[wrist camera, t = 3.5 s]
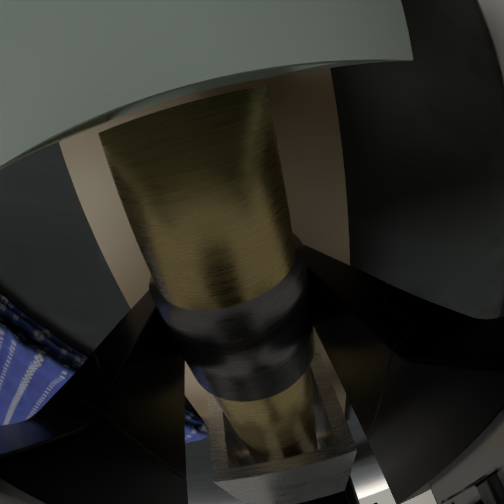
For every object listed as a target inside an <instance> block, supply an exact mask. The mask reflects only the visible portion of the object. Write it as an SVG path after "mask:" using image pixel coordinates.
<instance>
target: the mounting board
mask: <svg viewBox="0 0 504 504" xmlns="http://www.w3.org/2000/svg"><path fill="white" fill-rule="evenodd" d="M265 85H266V89H267V94H268V99H269V104H270V109H271V113H272V119H273V124H274V129H275V134H276V139H277V145H278V150H279V155H280V161H281V166H282V172H283V178H284V183H285V189H286V195H287V201H288V207H289V213H290V220H291V226H292V232H293V233H294V234H295V235H296V236H297V237H298V238H299V239H300V241H301V242H302V244H303V245H307V246H309V247H311V248H313V249H315V250H318V251H320V252H322V253H324V254H326V255H328V256H331V257H333V258H335V259H337V260H339V261H341V262H344V263H346V264H348V265H350V248H349V225H348V208H347V195H346V182H345V171H344V161H343V152H342V143H341V135H340V127H339V120H338V113H337V106H336V100H335V93H334V87H333V82H332V76H331V70H330V68H327V69H320V70H314V71H308V72H303V73H298V74H290V75H283V76H276V77H270V78H264V79H258V80H252V81H247V82H242V83H237V84H232V85H227V86H223V87H218V88H214V89H210V90H206V91H202V92H198V93H194V94H190V95H187V96H183V97H180V98H176V99H173V100H169V101H166V102H163V103H160V104H156V105H153V106H150V107H147V108H144V109H141V110H138V111H135V112H133V113H130V114H127V115H124V116H122V117H119V118H116V119H114V120H111V121H109V122H106V123H104V124H101V125H99V126H96V127H94V128H91V129H89V130H87V131H84V132H81V133H79V134H76V135H74V136H71V137H69V138H66V139H64V140H62V141H59V144H60V147H61V150H62V153H63V156H64V159H65V162H66V165H67V168H68V170H69V173H70V176H71V179H72V182H73V184H74V187H75V190H76V192H77V195H78V197H79V200H80V202H81V205H82V207H83V210H84V212H85V215H86V217H87V219H88V222H89V224H90V226H91V229H92V231H93V233H94V236H95V238H96V240H97V242H98V244H99V247H100V249H101V251H102V253H103V255H104V257H105V259H106V261H107V264H108V266H109V268H110V270H111V272H112V274H113V276H114V278H115V280H116V282H117V284H118V285H119V287H120V289H121V291H122V293H123V295H124V297H125V299H126V301H127V302H128V304H129V306H130V308H131V309H132V308H133V306H134V305H135V304H136V303H137V302H138V301H139V300H140V299H141V298H142V297H143V296H144V294H145V293H146V292H147V291H148V290H149V282H150V277H151V273H150V271H149V269H148V267H147V264H146V262H145V260H144V257H143V255H142V253H141V250H140V248H139V246H138V243H137V241H136V238H135V236H134V233H133V231H132V228H131V226H130V223H129V221H128V218H127V216H126V213H125V211H124V208H123V205H122V203H121V200H120V197H119V195H118V192H117V189H116V186H115V183H114V181H113V178H112V175H111V172H110V169H109V166H108V163H107V160H106V157H105V154H104V151H103V148H102V144H101V141H100V138H99V135H98V133H100V132H102V131H104V130H107V129H109V128H112V127H114V126H117V125H120V124H122V123H125V122H128V121H130V120H133V119H136V118H139V117H142V116H145V115H148V114H151V113H154V112H157V111H160V110H163V109H167V108H170V107H173V106H177V105H180V104H184V103H187V102H191V101H195V100H198V99H202V98H206V97H210V96H215V95H219V94H223V93H228V92H232V91H237V90H242V89H247V88H253V87H258V86H265ZM313 330H314V341H315V349H314V355H315V354H319V353H320V354H321V356H322V359H323V362H324V364H325V367H326V369H327V372H328V374H329V377H330V379H331V382H332V385H333V387H334V390H335V392H336V395H337V397H338V400H339V403H340V405H341V408H342V411H343V413H344V414H345V404H346V392H345V390H344V388H343V386H342V384H341V382H340V380H339V378H338V376H337V374H336V372H335V370H334V367H333V365H332V363H331V361H330V359H329V357H328V355H327V353H326V351H325V349H324V347H323V345H322V343H321V341H320V339H319V337H318V335H317V333H316V331H315V328H314V326H313ZM185 396H186V397H187V399H188V400H189V402H190V403H191V404H192V406H193V407H194V409H195V410H196V411H197V413H198V414H199V415H200V417H201V418H202V419H203V421H204V422H205V423H206V425H207V426H208V427H209V416H208V399H207V391H206V390H205V389H204V388H203V387H202V386H201V385H200V384H199V383H198V381H197V380H196V379H195V377H194V375H193V373H192V372H191V370H190V368H189V367H188V365H187V363H186V361H185ZM316 436H317V434H316ZM317 438H318V437H317Z"/></svg>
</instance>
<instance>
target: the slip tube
mask: <svg viewBox="0 0 504 504" xmlns="http://www.w3.org/2000/svg"><path fill="white" fill-rule="evenodd" d="M98 135H99V138H100V141H101V144H102V148H103V151H104V154H105V157H106V160H107V163H108V166H109V169H110V172H111V175H112V178H113V181H114V183H115V186H116V189H117V192H118V195H119V197H120V200H121V203H122V205H123V208H124V211H125V213H126V216H127V218H128V221H129V223H130V226H131V228H132V231H133V233H134V236H135V238H136V241H137V243H138V246H139V248H140V250H141V253H142V255H143V257H144V260H145V262H146V264H147V267H148V269H149V271H150V273H151V277H150V282H149V291H150V295H151V297H152V299H153V301H154V303H155V305H156V307H157V309H158V311H159V313H160V315H161V317H162V319H163V321H164V323H165V325H166V327H167V329H168V331H169V332H170V334H171V336H172V338H173V340H174V342H175V344H176V345H177V347H178V349H179V351H180V353H181V354H182V356H183V358H184V360H185V361H186V363H187V365H188V367H189V368H190V370H191V372H192V373H193V375H194V377H195V379H196V380H197V381H198V383H199V384H200V385H201V386H202V387H203V388H204V389H205V390H206V391H208V392H209V393H211V394H213V396H214V397H215V399H216V401H217V402H218V404H219V406H220V407H221V409H222V411H223V412H224V414H225V416H226V417H227V419H228V420H229V422H230V424H231V425H232V427H233V428H234V430H235V431H236V433H237V435H238V436H239V438H240V439H241V441H242V442H243V444H244V445H245V447H246V448H247V450H248V451H249V453H250V454H251V456H252V457H253V459H254V460H255V462H256V463H257V464H260V463H266V462H271V461H276V460H280V459H285V458H289V457H293V456H297V455H301V454H305V453H309V452H313V451H316V450H317V436H316V424H315V412H314V401H313V390H312V380H311V371H310V363H311V361H312V358H313V355H314V349H315V341H314V330H313V320H312V310H311V301H310V291H309V283H308V274H307V266H306V258H305V251H304V246H303V244H302V242H301V241H300V239H299V238H298V237H297V236H296V235H295V234H294V233H293V232H292V226H291V220H290V213H289V207H288V201H287V195H286V189H285V183H284V178H283V172H282V166H281V161H280V155H279V150H278V145H277V139H276V134H275V129H274V124H273V119H272V113H271V109H270V104H269V99H268V94H267V89H266V85H265V86H258V87H253V88H247V89H242V90H237V91H232V92H228V93H223V94H219V95H215V96H210V97H206V98H202V99H198V100H195V101H191V102H187V103H184V104H180V105H177V106H173V107H170V108H167V109H163V110H160V111H157V112H154V113H151V114H148V115H145V116H142V117H139V118H136V119H133V120H130V121H128V122H125V123H122V124H120V125H117V126H114V127H112V128H109V129H107V130H104V131H102V132H100V133H98Z"/></svg>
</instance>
